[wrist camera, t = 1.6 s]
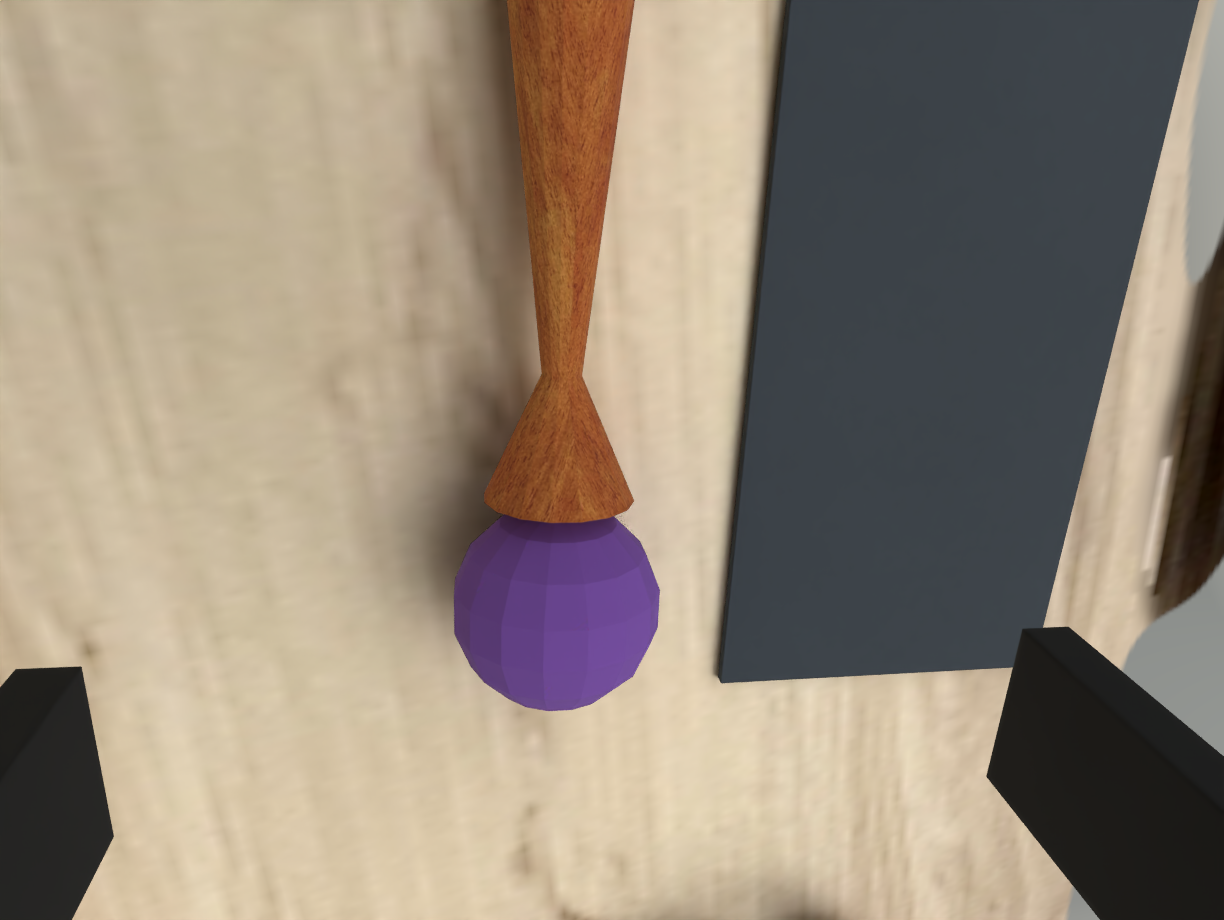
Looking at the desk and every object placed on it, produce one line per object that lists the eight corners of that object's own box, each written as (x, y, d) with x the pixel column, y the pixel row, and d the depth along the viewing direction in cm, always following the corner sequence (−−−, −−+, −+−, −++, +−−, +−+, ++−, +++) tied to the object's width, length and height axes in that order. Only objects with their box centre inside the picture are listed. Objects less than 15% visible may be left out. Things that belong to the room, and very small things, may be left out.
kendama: (741, -67, 19) (685, 732, 25) (641, -9, 24) (614, 636, 30) (470, -111, 17) (475, 769, 23) (426, -37, 23) (439, 659, 28)
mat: (797, -113, 22) (802, -117, 22) (1207, -75, 24) (1219, -78, 24) (717, 677, 31) (720, 683, 31) (1027, 660, 33) (1033, 666, 32)
